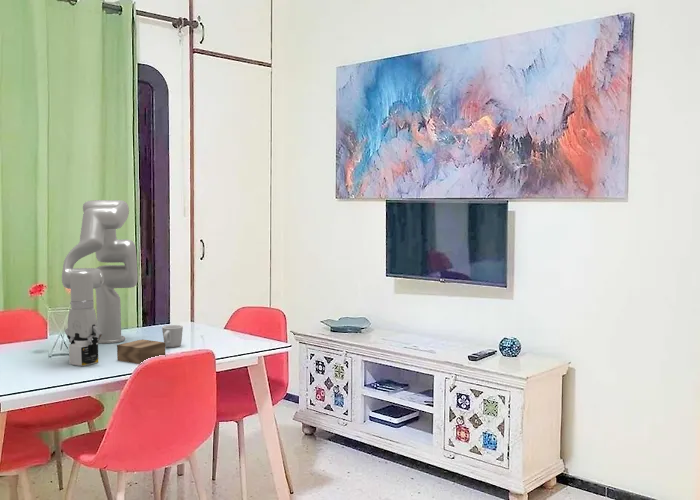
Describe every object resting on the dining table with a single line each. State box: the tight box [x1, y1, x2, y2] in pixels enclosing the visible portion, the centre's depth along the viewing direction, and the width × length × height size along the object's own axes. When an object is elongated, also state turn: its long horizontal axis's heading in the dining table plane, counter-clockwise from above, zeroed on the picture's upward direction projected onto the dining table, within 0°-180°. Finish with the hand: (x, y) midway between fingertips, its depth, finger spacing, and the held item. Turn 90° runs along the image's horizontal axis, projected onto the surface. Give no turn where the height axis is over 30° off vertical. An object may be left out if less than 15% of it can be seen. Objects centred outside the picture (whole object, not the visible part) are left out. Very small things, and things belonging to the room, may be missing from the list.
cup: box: [161, 324, 184, 348], centre depth 278 cm, size 11×8×8 cm
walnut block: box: [116, 338, 166, 365], centre depth 257 cm, size 12×12×6 cm
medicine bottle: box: [68, 333, 99, 367], centre depth 250 cm, size 7×7×12 cm
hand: (83, 353), depth 250 cm, fingers closed on medicine bottle, 7 cm apart
